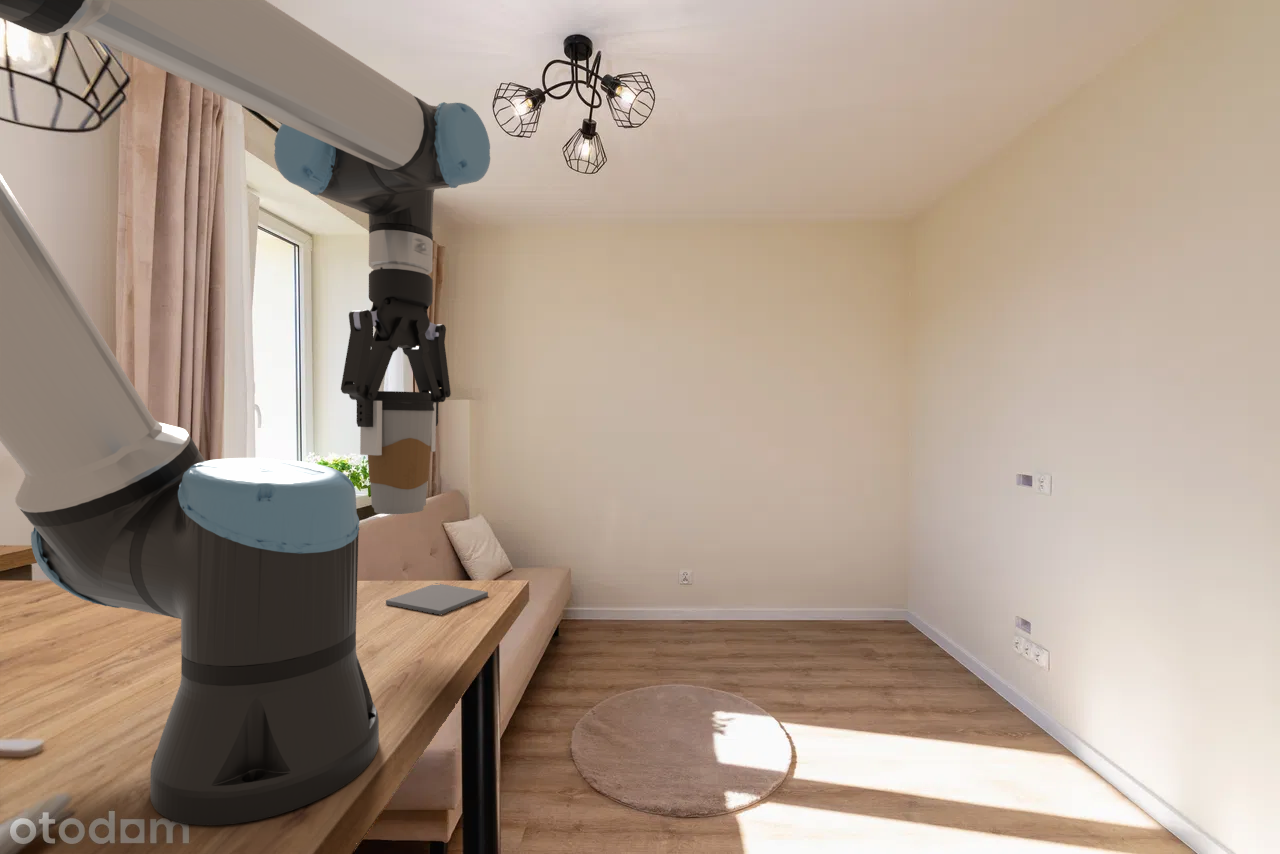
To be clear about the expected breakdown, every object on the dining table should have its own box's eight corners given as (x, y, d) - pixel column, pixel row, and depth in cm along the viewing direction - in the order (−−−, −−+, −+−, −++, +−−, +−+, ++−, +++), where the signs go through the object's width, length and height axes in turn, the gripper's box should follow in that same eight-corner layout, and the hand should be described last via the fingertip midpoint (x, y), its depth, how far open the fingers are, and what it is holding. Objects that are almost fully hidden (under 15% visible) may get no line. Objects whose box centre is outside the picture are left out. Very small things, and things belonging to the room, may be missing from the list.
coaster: (440, 615, 84) (440, 610, 84) (385, 604, 88) (385, 600, 88) (487, 595, 93) (487, 591, 93) (436, 587, 97) (436, 583, 97)
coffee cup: (419, 503, 85) (421, 393, 85) (443, 512, 79) (445, 392, 78) (354, 508, 80) (355, 391, 79) (375, 518, 73) (375, 390, 73)
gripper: (352, 249, 67) (350, 459, 68) (479, 286, 86) (478, 450, 87) (304, 255, 70) (303, 456, 71) (438, 290, 90) (436, 448, 90)
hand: (399, 452), depth 79 cm, fingers closed on coffee cup, 8 cm apart
